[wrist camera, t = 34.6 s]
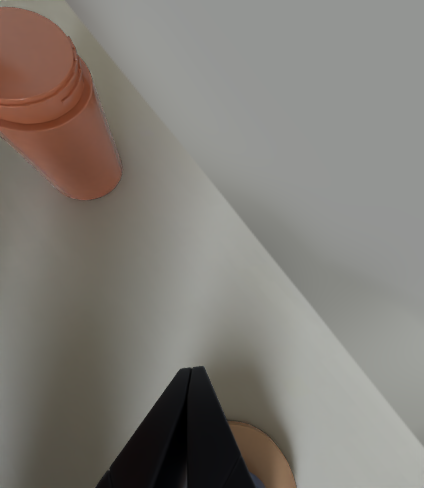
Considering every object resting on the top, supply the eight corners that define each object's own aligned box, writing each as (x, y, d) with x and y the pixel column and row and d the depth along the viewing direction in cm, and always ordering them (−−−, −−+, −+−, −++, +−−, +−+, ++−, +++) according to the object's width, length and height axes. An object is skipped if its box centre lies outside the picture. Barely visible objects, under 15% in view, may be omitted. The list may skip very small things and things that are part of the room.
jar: (64, 211, 19) (-43, 124, 9) (36, 150, 19) (-92, 11, 10) (133, 184, 20) (103, 87, 11) (105, 129, 21) (53, -9, 11)
